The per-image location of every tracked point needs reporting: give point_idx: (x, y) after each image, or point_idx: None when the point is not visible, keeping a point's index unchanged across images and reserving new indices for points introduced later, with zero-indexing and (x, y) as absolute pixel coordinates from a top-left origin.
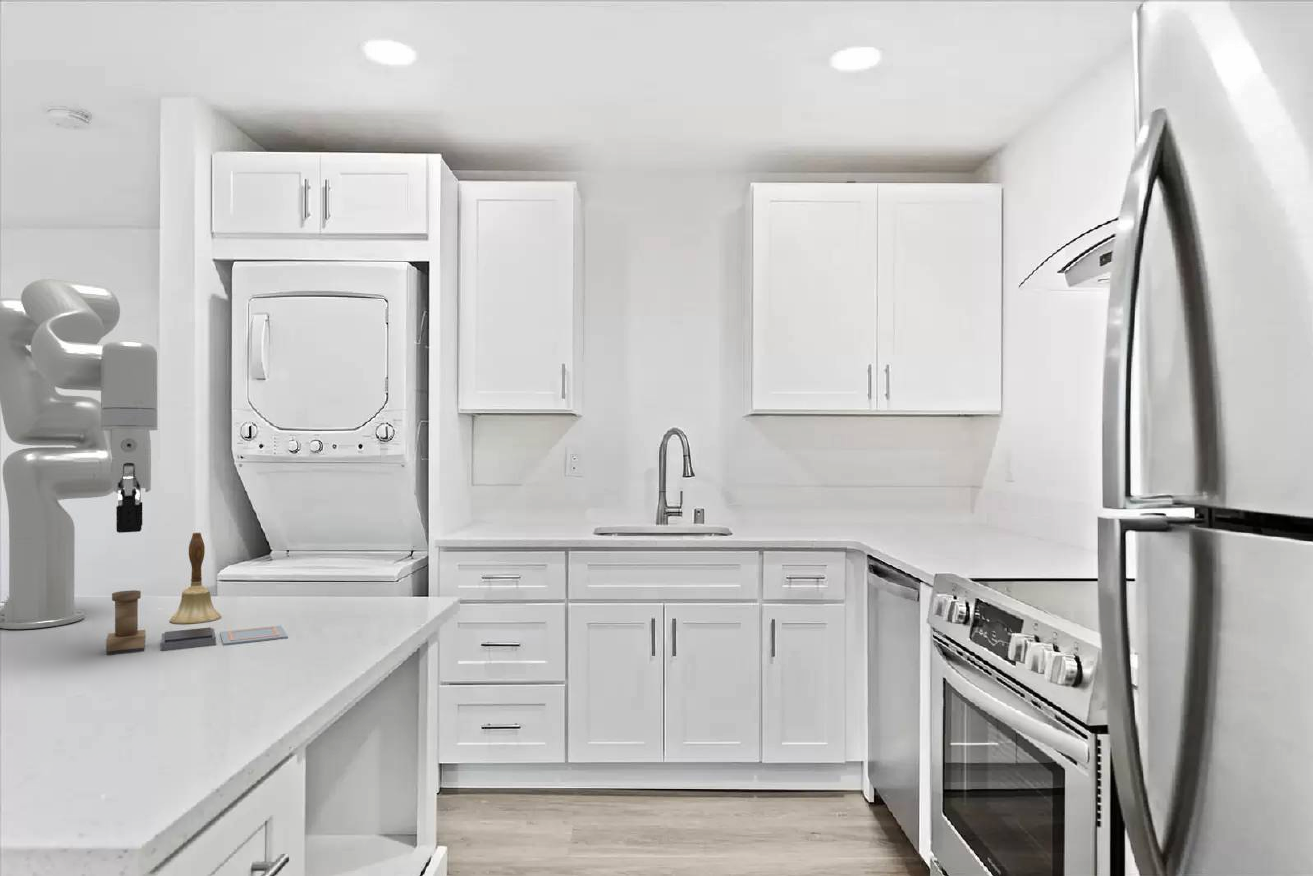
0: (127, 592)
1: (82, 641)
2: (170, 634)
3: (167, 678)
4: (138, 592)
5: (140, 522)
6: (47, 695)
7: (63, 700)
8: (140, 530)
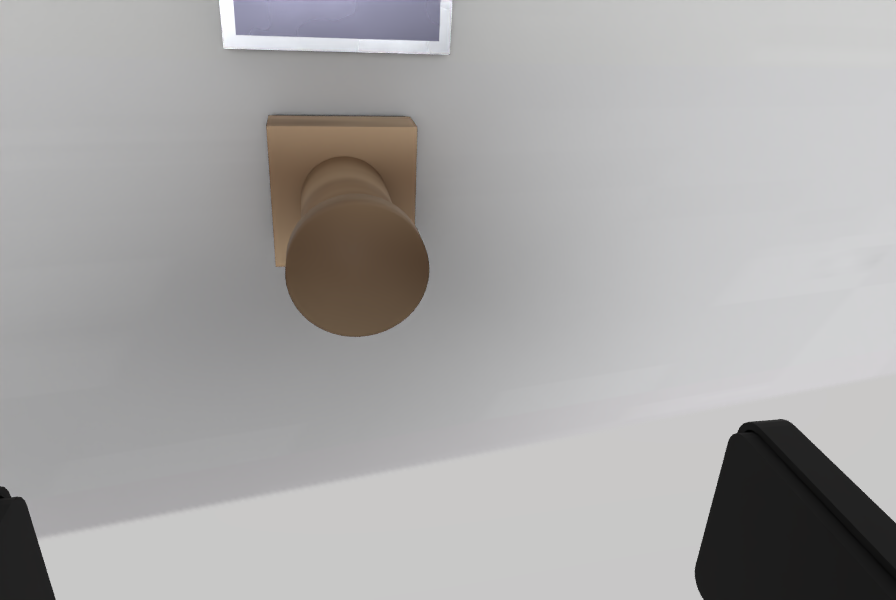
0: (357, 269)
1: (81, 341)
2: (317, 11)
3: (878, 40)
4: (391, 214)
5: (844, 481)
6: (810, 328)
7: (886, 289)
8: (782, 422)
